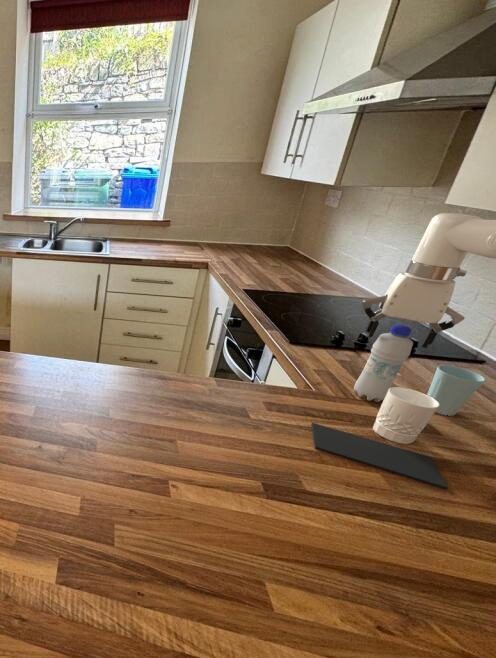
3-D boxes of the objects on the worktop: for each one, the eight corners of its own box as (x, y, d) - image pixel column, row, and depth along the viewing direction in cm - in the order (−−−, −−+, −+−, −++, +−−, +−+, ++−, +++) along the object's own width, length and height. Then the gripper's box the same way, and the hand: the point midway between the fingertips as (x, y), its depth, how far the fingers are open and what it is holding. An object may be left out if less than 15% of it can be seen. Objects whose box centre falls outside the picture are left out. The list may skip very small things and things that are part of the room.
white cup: (370, 419, 95) (389, 383, 90) (417, 435, 90) (439, 397, 85) (367, 433, 90) (387, 396, 85) (416, 451, 85) (440, 412, 80)
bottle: (349, 386, 108) (382, 318, 99) (382, 395, 104) (419, 324, 96) (351, 397, 103) (386, 326, 94) (386, 407, 99) (425, 334, 91)
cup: (471, 421, 95) (495, 383, 90) (432, 416, 96) (454, 378, 92) (445, 403, 101) (467, 367, 97) (409, 399, 103) (429, 363, 99)
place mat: (431, 458, 83) (432, 457, 82) (447, 489, 75) (448, 487, 75) (311, 424, 92) (312, 422, 92) (314, 448, 85) (315, 446, 85)
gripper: (479, 274, 88) (439, 344, 95) (376, 261, 96) (346, 326, 104) (493, 283, 82) (450, 356, 90) (382, 268, 91) (351, 336, 98)
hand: (394, 340), depth 97 cm, fingers open, 9 cm apart
